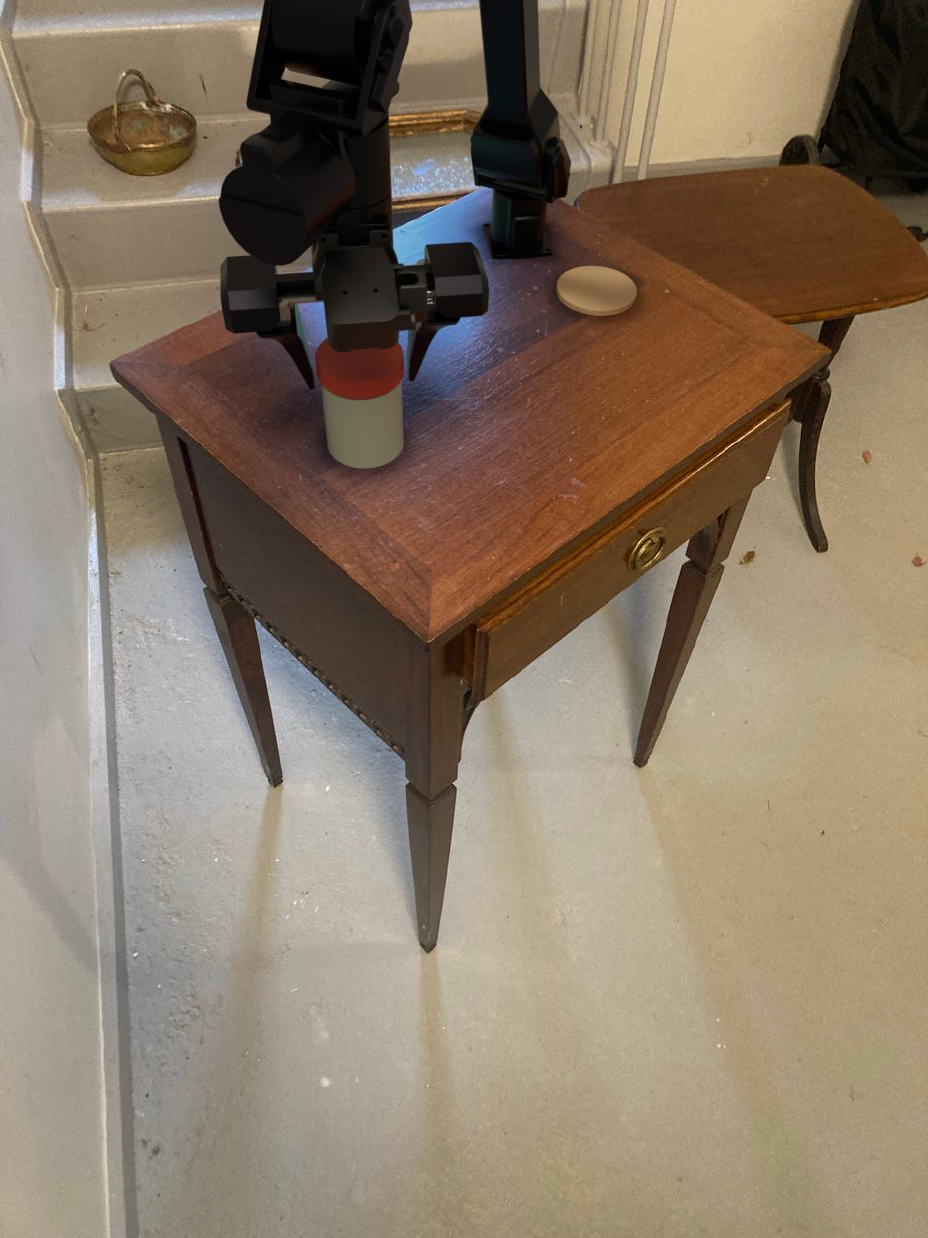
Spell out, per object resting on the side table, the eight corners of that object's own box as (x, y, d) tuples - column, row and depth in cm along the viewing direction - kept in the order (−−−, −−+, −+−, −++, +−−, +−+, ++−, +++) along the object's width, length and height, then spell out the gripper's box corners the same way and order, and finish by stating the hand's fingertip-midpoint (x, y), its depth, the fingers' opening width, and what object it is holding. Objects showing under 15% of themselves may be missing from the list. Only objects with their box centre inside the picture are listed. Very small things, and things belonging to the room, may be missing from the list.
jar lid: (314, 348, 74) (312, 330, 73) (398, 342, 75) (397, 324, 74) (320, 403, 70) (318, 385, 69) (409, 395, 71) (408, 378, 70)
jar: (324, 421, 80) (315, 337, 73) (398, 415, 81) (396, 331, 74) (330, 472, 76) (320, 388, 69) (408, 465, 77) (406, 381, 70)
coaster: (548, 273, 95) (549, 267, 95) (623, 268, 96) (624, 263, 96) (566, 318, 90) (566, 313, 90) (645, 313, 91) (646, 307, 91)
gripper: (202, 264, 55) (243, 461, 68) (510, 245, 58) (496, 439, 70) (204, 173, 62) (241, 367, 74) (479, 159, 64) (471, 350, 77)
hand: (361, 382), depth 74 cm, fingers open, 7 cm apart
